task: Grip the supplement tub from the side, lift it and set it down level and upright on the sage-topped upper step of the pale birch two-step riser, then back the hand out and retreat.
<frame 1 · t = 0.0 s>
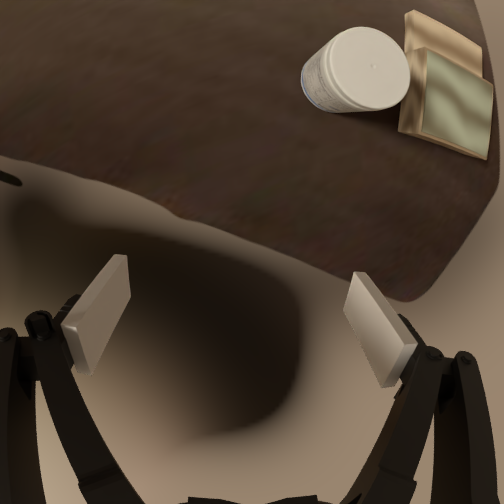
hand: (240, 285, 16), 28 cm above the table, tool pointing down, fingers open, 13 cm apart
birch riser: (440, 84, 35), on the table
supplement tub: (330, 83, 36), on the table
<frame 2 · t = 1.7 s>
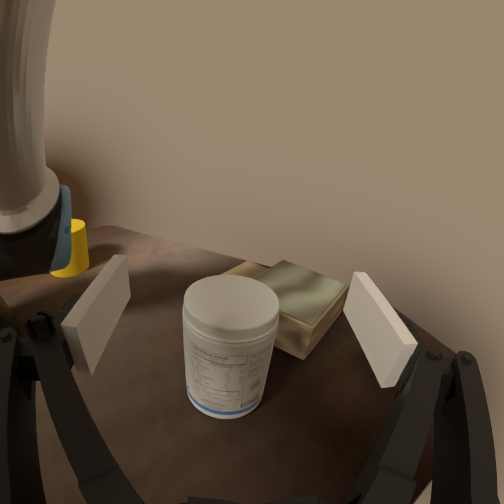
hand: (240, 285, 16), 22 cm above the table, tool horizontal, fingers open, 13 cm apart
birch riser: (269, 308, 52), on the table
supplement tub: (224, 393, 34), on the table
yellow hollow cylinder: (69, 267, 57), on the table
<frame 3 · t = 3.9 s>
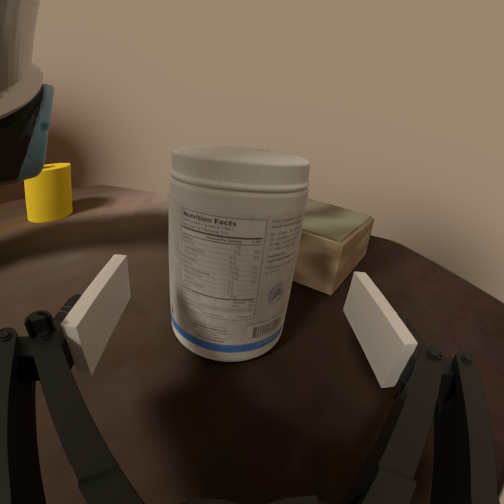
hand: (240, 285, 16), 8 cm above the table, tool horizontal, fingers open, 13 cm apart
birch riser: (281, 246, 43), on the table
supplement tub: (226, 330, 25), on the table
yellow hollow cylinder: (50, 215, 48), on the table
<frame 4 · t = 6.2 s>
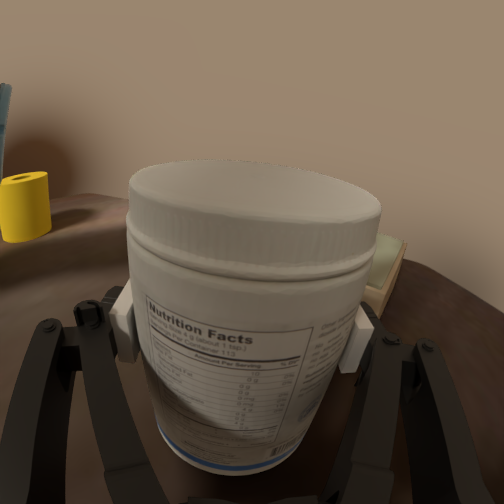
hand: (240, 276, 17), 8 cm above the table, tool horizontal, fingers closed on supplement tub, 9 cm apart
birch riser: (296, 279, 35), on the table
supplement tub: (231, 419, 17), on the table, touching gripper
yellow hollow cylinder: (26, 232, 39), on the table
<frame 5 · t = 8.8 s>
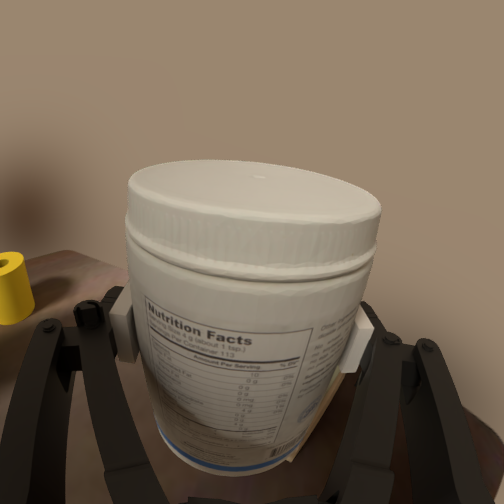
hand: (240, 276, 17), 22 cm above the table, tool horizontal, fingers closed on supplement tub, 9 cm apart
birch riser: (248, 379, 37), on the table
supplement tub: (230, 420, 17), point 14 cm above the table, touching gripper
yellow hollow cylinder: (13, 309, 40), on the table
when the fingers open (16 cm above the table, at t = 11.5 s): supplement tub drops 2 cm, resting on birch riser.
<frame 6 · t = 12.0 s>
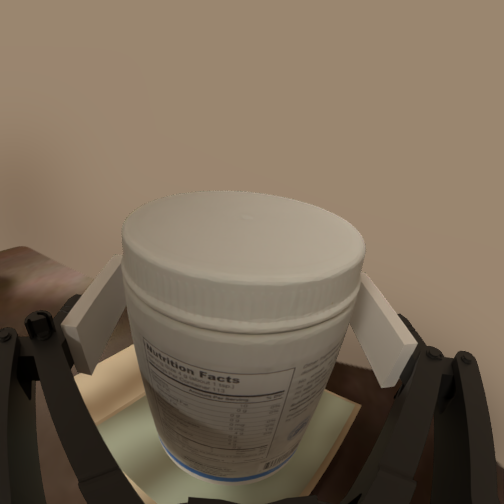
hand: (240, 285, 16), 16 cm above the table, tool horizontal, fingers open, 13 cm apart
birch riser: (191, 439, 22), on the table
supplement tub: (228, 432, 17), point 6 cm above the table, touching birch riser
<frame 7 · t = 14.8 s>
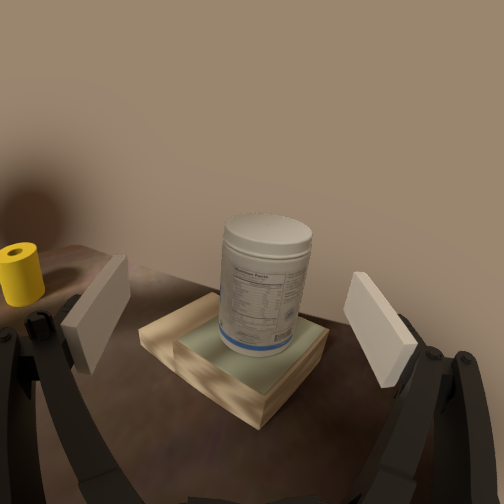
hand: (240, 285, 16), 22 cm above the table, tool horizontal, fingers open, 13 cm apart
birch riser: (229, 356, 41), on the table
supplement tub: (255, 336, 37), point 6 cm above the table, touching birch riser
yellow hollow cylinder: (25, 294, 47), on the table
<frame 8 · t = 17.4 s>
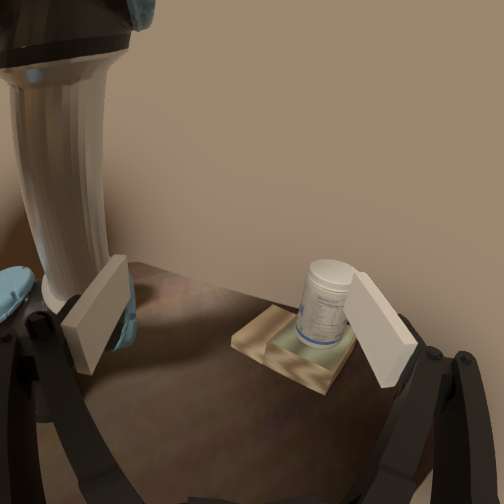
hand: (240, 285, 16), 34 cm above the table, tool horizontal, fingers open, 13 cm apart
birch riser: (294, 350, 60), on the table
supplement tub: (317, 336, 56), point 6 cm above the table, touching birch riser
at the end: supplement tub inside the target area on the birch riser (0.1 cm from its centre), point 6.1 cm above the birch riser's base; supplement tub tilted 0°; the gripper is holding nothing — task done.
